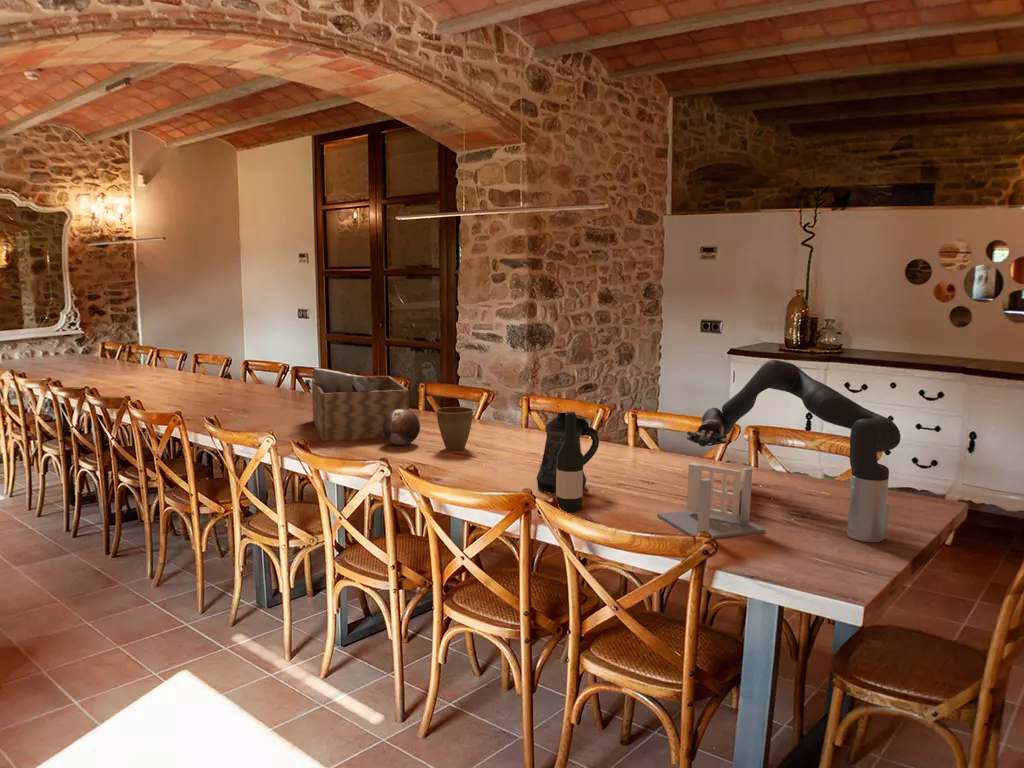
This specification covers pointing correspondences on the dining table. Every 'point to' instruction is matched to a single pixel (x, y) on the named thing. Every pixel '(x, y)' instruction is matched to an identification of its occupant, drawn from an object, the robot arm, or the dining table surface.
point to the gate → (693, 489)
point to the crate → (357, 410)
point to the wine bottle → (569, 469)
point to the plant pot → (455, 426)
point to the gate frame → (715, 523)
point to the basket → (341, 381)
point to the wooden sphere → (401, 426)
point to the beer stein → (553, 445)
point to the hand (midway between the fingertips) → (702, 443)
